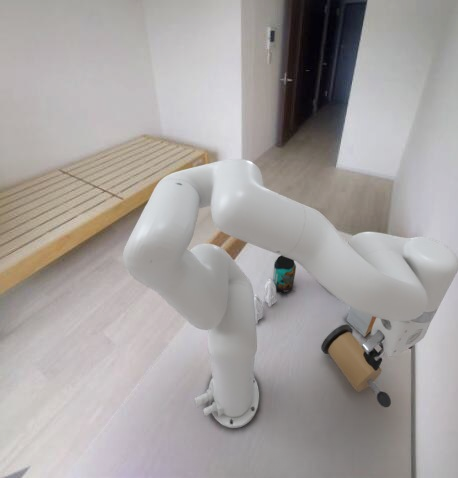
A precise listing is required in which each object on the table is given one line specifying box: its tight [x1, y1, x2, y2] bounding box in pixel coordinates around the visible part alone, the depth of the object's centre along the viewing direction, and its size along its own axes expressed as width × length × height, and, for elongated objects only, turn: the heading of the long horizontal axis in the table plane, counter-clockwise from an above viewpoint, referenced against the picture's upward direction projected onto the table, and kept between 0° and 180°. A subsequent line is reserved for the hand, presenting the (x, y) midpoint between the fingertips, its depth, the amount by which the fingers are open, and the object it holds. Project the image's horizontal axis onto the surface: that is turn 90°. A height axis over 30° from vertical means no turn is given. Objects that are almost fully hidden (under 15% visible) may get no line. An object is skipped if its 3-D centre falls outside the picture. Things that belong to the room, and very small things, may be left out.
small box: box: [346, 307, 377, 338], centre depth 79 cm, size 8×6×13 cm
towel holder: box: [320, 323, 392, 408], centre depth 67 cm, size 10×16×10 cm, turn 24°
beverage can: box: [272, 255, 297, 295], centre depth 91 cm, size 7×7×12 cm
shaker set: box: [254, 278, 278, 324], centre depth 85 cm, size 12×4×11 cm, turn 134°
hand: (387, 352), depth 56 cm, fingers open, 9 cm apart
